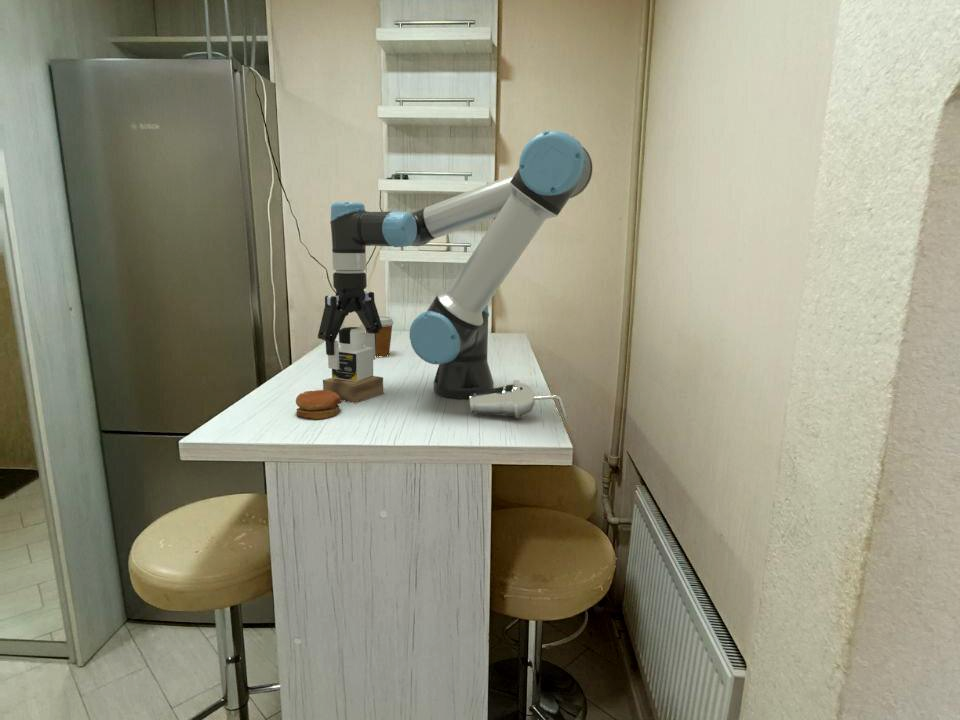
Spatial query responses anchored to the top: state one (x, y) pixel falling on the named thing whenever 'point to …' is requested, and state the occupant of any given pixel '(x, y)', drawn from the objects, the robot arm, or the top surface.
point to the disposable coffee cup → (383, 337)
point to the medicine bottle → (353, 356)
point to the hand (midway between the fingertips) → (352, 363)
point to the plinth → (355, 388)
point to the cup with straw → (508, 400)
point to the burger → (318, 404)
